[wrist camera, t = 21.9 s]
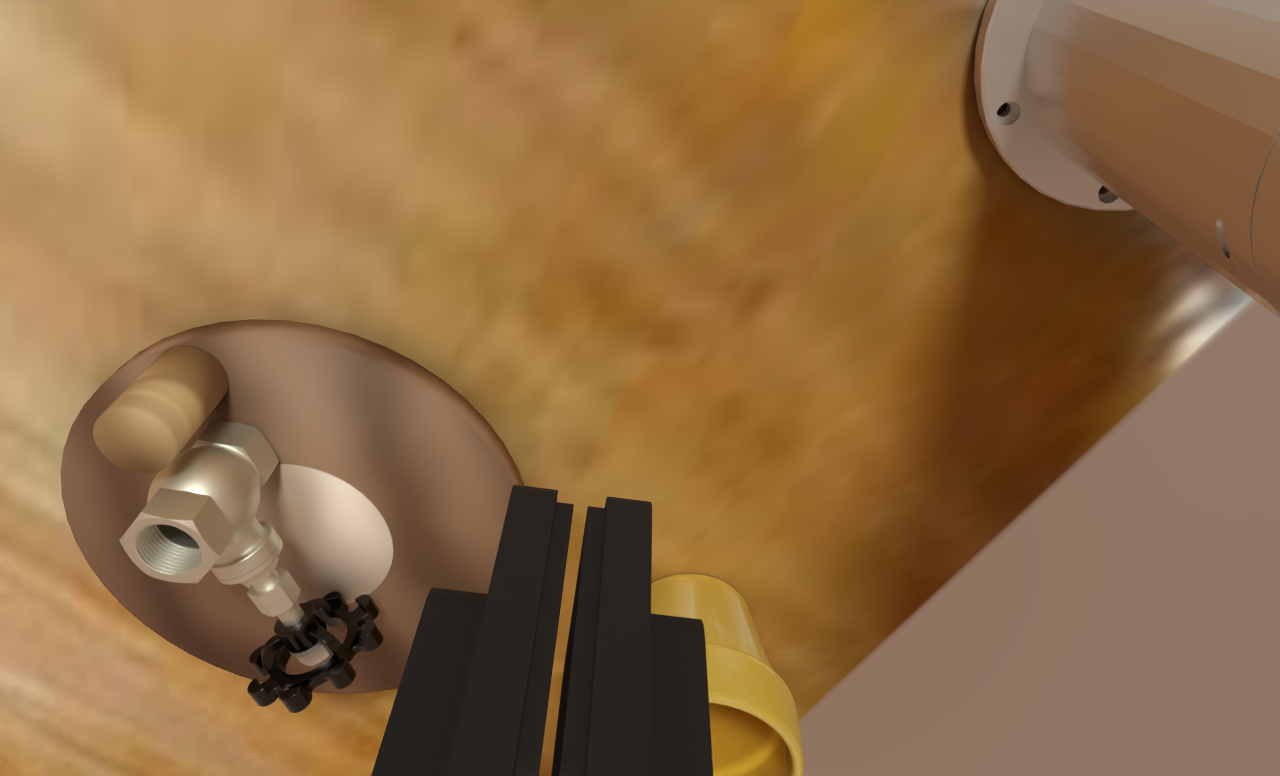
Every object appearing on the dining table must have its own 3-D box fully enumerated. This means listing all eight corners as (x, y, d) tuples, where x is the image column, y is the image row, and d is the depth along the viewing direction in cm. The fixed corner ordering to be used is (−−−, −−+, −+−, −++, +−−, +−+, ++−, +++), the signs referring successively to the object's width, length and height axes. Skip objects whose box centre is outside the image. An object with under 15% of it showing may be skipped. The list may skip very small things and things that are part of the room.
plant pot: (554, 624, 49) (533, 783, 41) (675, 512, 45) (679, 664, 37) (695, 705, 52) (702, 867, 44) (820, 608, 48) (855, 767, 40)
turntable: (421, 261, 37) (378, 336, 31) (591, 626, 48) (581, 730, 42) (-19, 389, 40) (-129, 476, 35) (231, 701, 51) (178, 806, 46)
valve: (147, 433, 40) (285, 618, 45) (62, 531, 34) (232, 727, 40) (277, 395, 38) (401, 590, 44) (212, 489, 33) (363, 698, 39)
